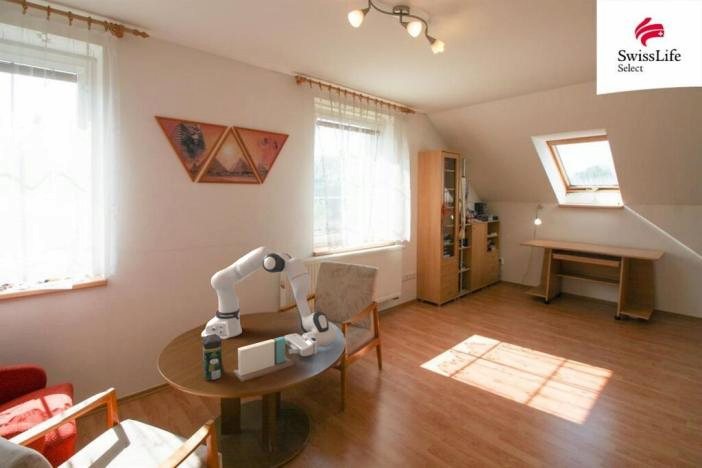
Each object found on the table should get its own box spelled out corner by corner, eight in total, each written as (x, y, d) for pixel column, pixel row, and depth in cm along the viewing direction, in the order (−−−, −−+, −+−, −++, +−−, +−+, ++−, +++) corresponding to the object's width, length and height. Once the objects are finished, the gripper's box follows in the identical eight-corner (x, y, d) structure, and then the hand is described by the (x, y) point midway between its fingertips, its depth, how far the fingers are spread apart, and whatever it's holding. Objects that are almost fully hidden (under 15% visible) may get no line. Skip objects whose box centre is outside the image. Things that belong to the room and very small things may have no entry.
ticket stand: (241, 382, 153) (240, 354, 151) (233, 372, 161) (233, 345, 159) (293, 365, 169) (293, 339, 167) (284, 357, 176) (284, 332, 175)
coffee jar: (203, 372, 160) (201, 334, 158) (221, 368, 164) (220, 331, 161) (204, 382, 152) (203, 342, 149) (223, 378, 155) (222, 339, 153)
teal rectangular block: (276, 364, 166) (275, 341, 165) (273, 361, 169) (273, 338, 167) (285, 361, 170) (285, 338, 168) (282, 358, 172) (282, 336, 170)
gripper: (298, 328, 186) (275, 334, 178) (319, 342, 170) (294, 349, 162) (298, 339, 187) (275, 346, 179) (318, 354, 171) (294, 362, 163)
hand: (284, 348), depth 170 cm, fingers open, 8 cm apart
